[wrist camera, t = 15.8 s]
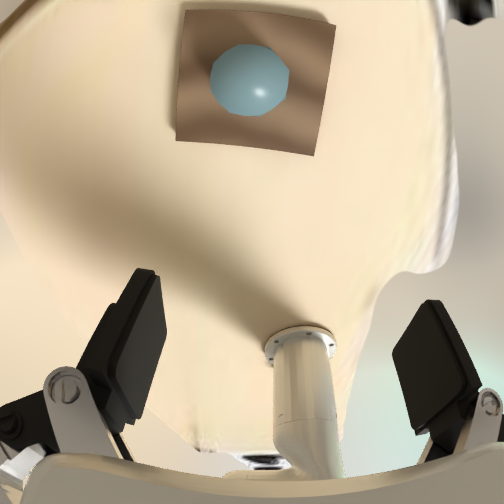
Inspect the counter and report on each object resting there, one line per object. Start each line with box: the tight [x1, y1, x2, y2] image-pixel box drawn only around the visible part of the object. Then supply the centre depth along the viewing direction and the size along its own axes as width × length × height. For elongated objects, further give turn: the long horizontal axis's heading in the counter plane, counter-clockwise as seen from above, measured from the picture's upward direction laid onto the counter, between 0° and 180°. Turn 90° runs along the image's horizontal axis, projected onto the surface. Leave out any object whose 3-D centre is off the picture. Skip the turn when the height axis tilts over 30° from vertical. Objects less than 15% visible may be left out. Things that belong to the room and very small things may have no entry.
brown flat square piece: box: [176, 10, 336, 156], centre depth 24 cm, size 14×14×2 cm
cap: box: [210, 44, 290, 116], centre depth 21 cm, size 6×6×5 cm
